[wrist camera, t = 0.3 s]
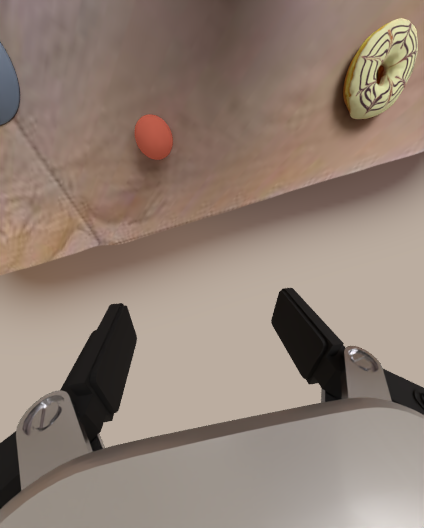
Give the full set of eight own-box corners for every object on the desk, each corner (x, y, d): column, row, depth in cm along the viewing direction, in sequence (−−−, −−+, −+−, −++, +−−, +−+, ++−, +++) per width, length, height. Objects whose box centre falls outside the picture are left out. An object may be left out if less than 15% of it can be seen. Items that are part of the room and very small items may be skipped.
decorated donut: (340, 134, 32) (358, 130, 29) (333, 61, 27) (353, 47, 24) (395, 98, 31) (420, 90, 27) (399, 13, 25) (430, -9, 22)
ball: (141, 113, 26) (132, 101, 21) (176, 128, 28) (175, 120, 23) (137, 153, 29) (128, 150, 24) (170, 165, 30) (167, 164, 26)
